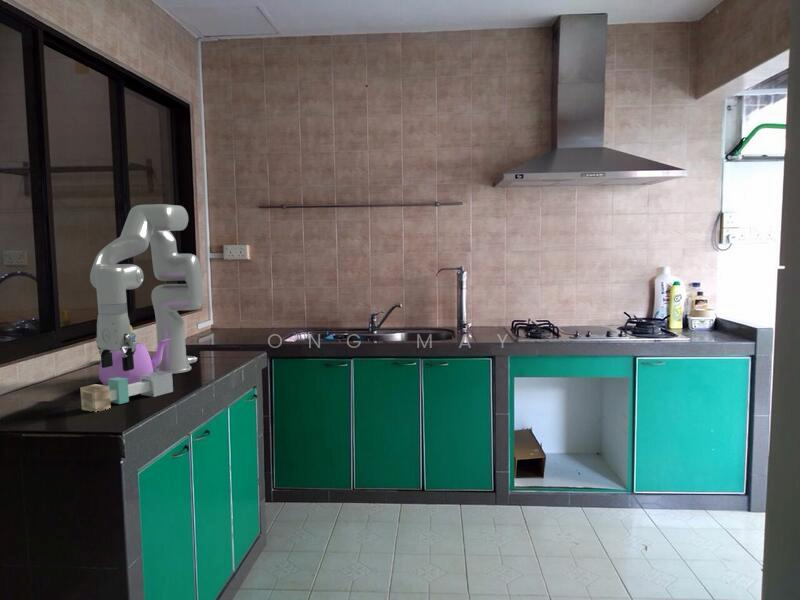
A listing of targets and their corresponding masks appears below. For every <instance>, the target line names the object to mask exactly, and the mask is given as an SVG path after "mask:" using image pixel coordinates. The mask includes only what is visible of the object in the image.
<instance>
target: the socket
mask: <svg viewBox="0 0 800 600" xmlns="http://www.w3.org/2000/svg"><path fill="white" fill-rule="evenodd" d="M79 389H80V401H81V402H80V403H81V404H80V405H81V410H82V411H88V412H92V411H94V412H93V413H98V412H97V411H99V412H103V411H106V410H110V409H112V408H111V407H112V405H111V402H110V388H109V386H105V385H103V384H96V383H95V384H94V383H93V384H90V385H86V386H81V387H80V388H79ZM109 408H110V409H109ZM105 409H106V410H105Z"/></svg>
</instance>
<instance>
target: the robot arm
mask: <svg viewBox="0 0 800 600" xmlns="http://www.w3.org/2000/svg"><path fill="white" fill-rule="evenodd" d="M188 223H189V214H188V212H187V210H186V208H185V207H184V206H182V205H175V204H169V203H167V204H166V203H163V204H162V203H158V204H156V203H155V204H154V203H153V204H139V205H135V206H133V207H132V208H131V209H130V210H129V212H128V214H127V218H126V220H125V223H124V226H123V228H122V231H121V234H120V236H119V237H117V238H116V239H114V240H113V241H111V242H110V243H108V244H107V245H106V246H104V247H103V248H102V249H101V250H100V251H99V252H98V253H97V254H96V256H95V258H94V261H93V264H92V265H91V270H90V275H89V277H90V278H89V280H90V283H91V285H92V287H94V288H95V289H96V299H97V311H98V315H97V319H96V320H97V321H96V337H95V338H94V339H95V340H94V341H95V343H96V346H97V349H98V350H99V352H98V353H99V355H100V361H101V364H102V368H106V367H110V366H113V360H112V352H110V351H111V350H112V351H118V350H120V351H121V353H122V355H123V356H124V357H122V364H123V371H128V370H132V369H134V360H133V356H134V352H135V351H136V345H137V343H138V342H137V340H136V339H135V340H134V339H133V338H132V334H131V328H130V326H131V324H130V323H131V321H130V318H129V314H128V312H129V311H128V302H127V301H128V300H127V299H128V298H127V290H135V289H137V288H139V287H141V286H142V283H143V282H144V278H145V275H144V271H143V270H142V269H143V268H141V267H140V266H138V265H137V264H133V263H130V264H129V263H124V264H123V263H122V264H119V263H120V262H122V261H124V260H127V259H130V258H133V257H136V256H137V255H138V256H139V255H140V254H142V253H145V252H146V250H147V249H148V248H149V245H150V251H151V252H150V253H151V259H152V260H151V261H152V269H153V271H152V272H153V274H154V277H155V278H156V280H159V281H163V282H167V281H168V282H171V281H185V283H180V284H179V283H165V284H159V285H157V286H155V287H154V288H153V289H152V291H151V296H150V297H151V302H152V306H153V309H154V315H155V317H154V318H155V325H156V326H155V329H156V343H157V347H158V344H159V343H160V341H162V340H166V339H170V340H169V341H168V342H167V343H166V344H165V346H164V348H163V355H162V360H161V363H160V365H159V366H158V367H157V368H155V369H154V372H157V371H163V372H172V375H175V374H181V373H187V372H189V371H191V370H192V366H191V365H190V364H191V363H196V362H197V361H198V357H196V356H192V357H189V356H187V348H186V333H185V332H186V329H185V322H184V319H183V317H182V316H181V315H180V313H179V311H196V310H199V309H201V308H202V306H203V303H204V292H203V279H202V269H201V262H200V260H199V258H198V257H197V256H196V254H192V253H178V248H177V246H178V245H177V240H176V238H175V236H174V235H173V233H172V232H171V231H176V232H177V231H178V232H179V231H184V230H186V228H187V227H188ZM125 350H127V352H126V351H125ZM109 352H110V353H109Z"/></svg>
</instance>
